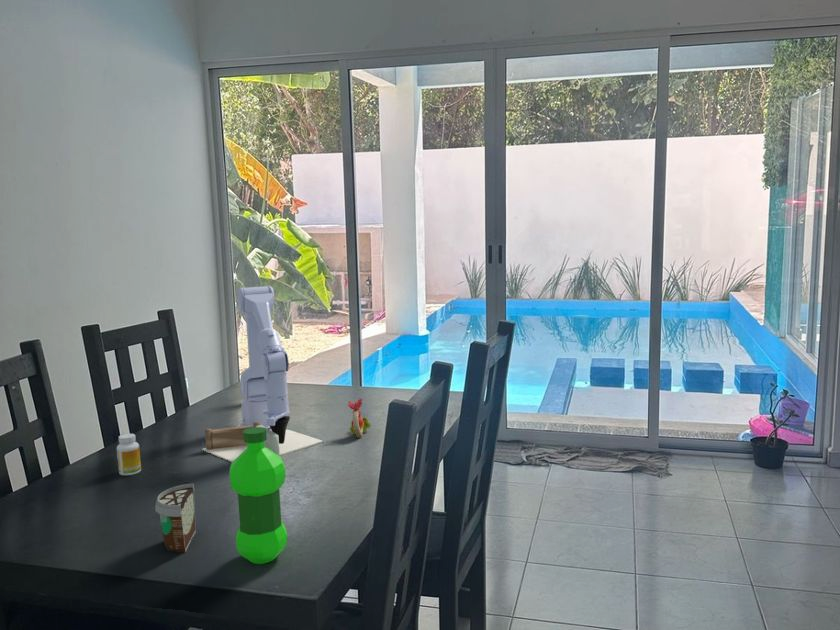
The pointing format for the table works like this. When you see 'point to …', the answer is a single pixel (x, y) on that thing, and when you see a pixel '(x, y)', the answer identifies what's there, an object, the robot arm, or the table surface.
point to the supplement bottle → (128, 455)
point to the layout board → (290, 444)
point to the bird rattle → (358, 419)
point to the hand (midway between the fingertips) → (279, 443)
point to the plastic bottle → (258, 499)
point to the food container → (177, 516)
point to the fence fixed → (226, 437)
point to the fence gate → (271, 440)
